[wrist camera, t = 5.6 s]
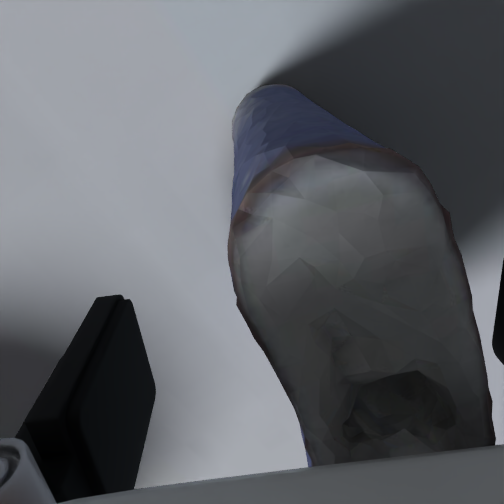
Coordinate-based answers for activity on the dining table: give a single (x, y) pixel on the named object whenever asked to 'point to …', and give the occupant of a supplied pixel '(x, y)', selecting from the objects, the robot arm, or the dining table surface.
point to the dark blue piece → (353, 286)
